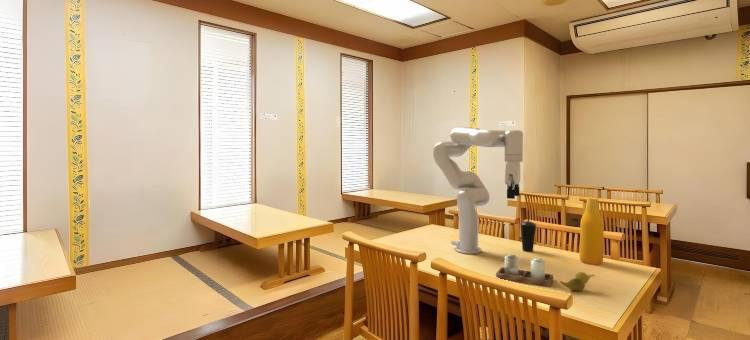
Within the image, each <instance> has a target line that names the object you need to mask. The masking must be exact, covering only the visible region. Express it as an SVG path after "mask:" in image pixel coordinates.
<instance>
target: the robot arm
mask: <svg viewBox="0 0 750 340" xmlns="http://www.w3.org/2000/svg"><path fill="white" fill-rule="evenodd" d="M449 137H450V139H451V140H449V141H448V140H447V141H445V140H444V141H440V142H437V143H436V144H435V145H434V147H433V150H432V152H433V153H432V156H433V159H434V161H435V163H436V165H437V166H438V167H439V169H440V170H441V172H442V173H443V175H444V176H445V178H446V180H447V182H448V183H449V185H450V186H451V188H452V189H453V190H455V191H458V193H457V194H456V203H457V208H458V240H451V242H450V243H451V245H452V246H455V251H456V252H458V253H460V254H466V255H467V254H468V255H470V254H471V255H473V254H475V255H476V254H479V253H482V248H481V247H480V246H479V214H478V210H477V209H476V208H477V207H483V206H486V205H487V204H488V203H489V202H490V193H489V191H488V189H487V187H486V186H485V184H484V183H483V181H482V180H481V178H480V177H479V176H478V174H477V173H475V172H474V171H471V170H469V171H468V170H467V171H466V170H465V171H463V170H462V169H461V168H460V167H459V164H458V163H457V162H456V161H455V160H453V159H452V158H456V157H457V158H458V157H461V156H463V155H465V153H467V151H468V150H470V148H471V147H473V146H475V147H483V148H504V163H505V168H504V169H505V171H504V184H505V185H506V199H509V200H511V199H512V200H515V198H516V197H519V196H520V183H521V163H523V162H524V161H523V160H524V158H523V157H524V155H523V154H524V148H523V147H524V138H523V137H524V133H523V131H522V130H518V129H516V130H515V129H512V130H497V129H496V130H485V129H480V128H478V127H471V126H469V127H468V126H465V127H461V126H458V127H454V128H453V129H452V130H451V132H450V135H449Z"/></svg>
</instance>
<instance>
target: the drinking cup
mask: <svg viewBox="0 0 750 340" xmlns="http://www.w3.org/2000/svg"><path fill="white" fill-rule="evenodd" d="M519 225H520V232H521V246H522V248H521V249H522V251H523V252H525V251H526V252H527V253H531V252H534V245H535V238H536V237H535V236H536V230H537V229H536V227H537V224H536V223H535V222H533V221H530V210H528V211H527V220H526V221H522V222H520V223H519ZM526 252H525V253H526Z"/></svg>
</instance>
